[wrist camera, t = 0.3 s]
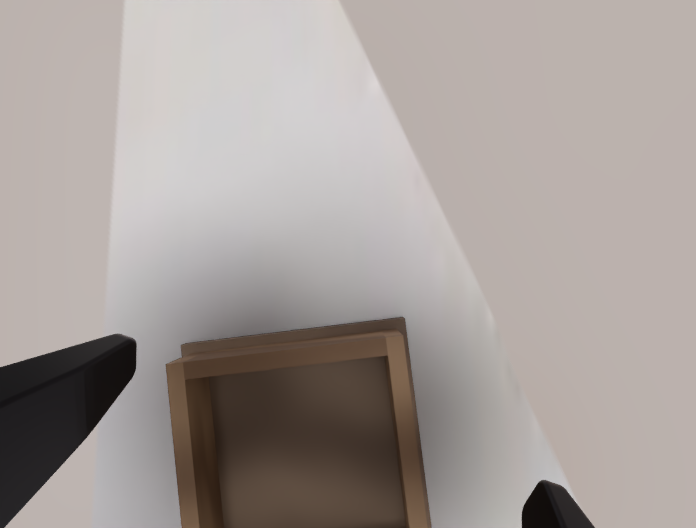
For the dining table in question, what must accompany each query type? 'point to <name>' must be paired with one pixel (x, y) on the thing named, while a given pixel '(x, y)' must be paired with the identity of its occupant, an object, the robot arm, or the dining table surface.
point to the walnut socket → (299, 430)
